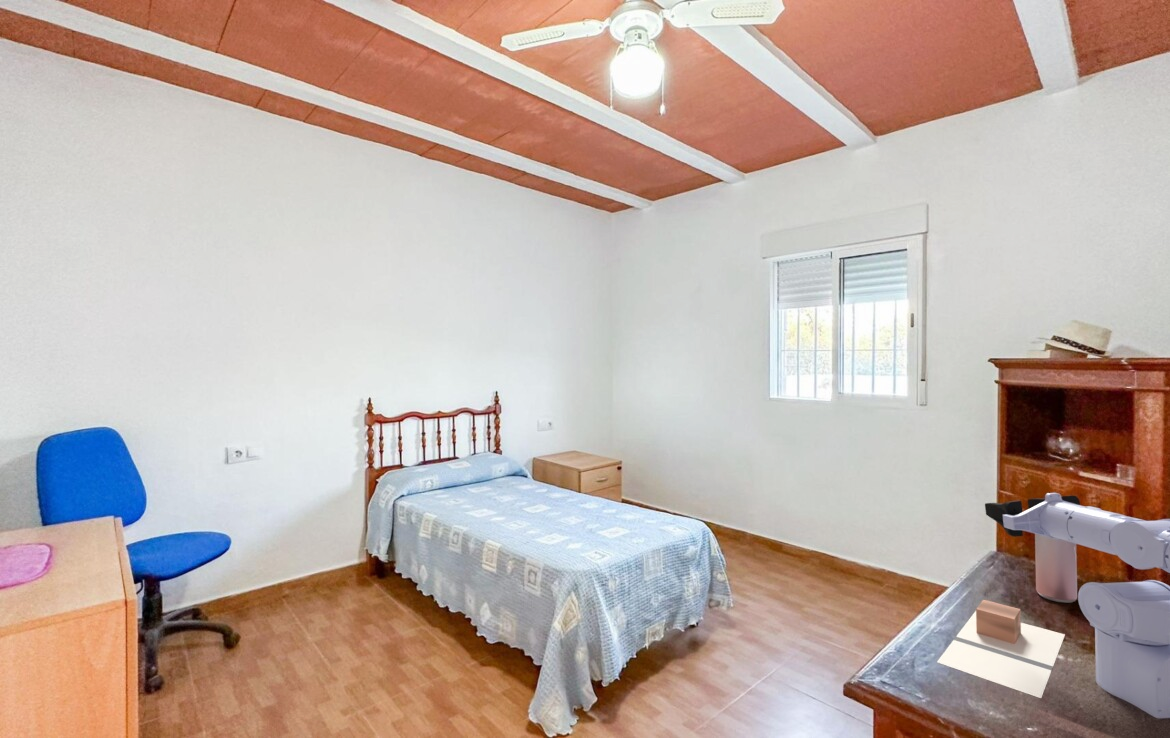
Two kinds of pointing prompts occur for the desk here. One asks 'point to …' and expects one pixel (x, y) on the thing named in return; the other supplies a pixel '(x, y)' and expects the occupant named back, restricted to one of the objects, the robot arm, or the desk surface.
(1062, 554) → the beverage can
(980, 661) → the board
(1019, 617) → the block
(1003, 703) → the desk surface
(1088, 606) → the robot arm
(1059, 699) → the desk surface
